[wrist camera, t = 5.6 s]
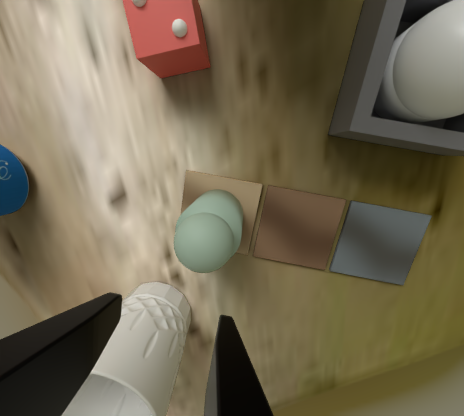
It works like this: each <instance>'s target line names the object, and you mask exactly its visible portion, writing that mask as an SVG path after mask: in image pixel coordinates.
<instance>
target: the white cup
mask: <svg viewBox="0 0 464 416" xmlns="http://www.w3.org/2000/svg"><path fill="white" fill-rule="evenodd" d="M190 322H191V308H190V305H189V303H188V302H187V300H186V298H185V296H184V295H183V294H182V293H181V292H180V291H178V290H177V289H175V288H174V287H173V286H171V285H168V284H164V283H160V282H150V283H144V284H141V285H139V286H138V287H137V288H135V289H134V290H133V291H131V292H130V293H129V294H128V295H127V296H126V297H125V298H124V300H123V301H122V310H121V318H120V321H119V323H118V325H117V327H116V329H115V330H114V332H113V334H112V336H111V338H110V339H109V341H108V343H107V345H106V347H105V348H104V350H103V352H102V354H101V356H100V357H99V359H98V361H97V363H96V364H95V366H94V368H93V370H92V371H91V373H90V374H89V376H88V377H87V379H86V380H85V382H84V383H83V385H82V386H81V388H80V389H79V391H78V392H77V394H76V395H75V397H74V398H73V399H72V401H71V402H70V404H69V405H68V407H67V408H66V410H65V411H64V413H63V414H62V416H166V415H167V411H168V407H169V404H170V400H171V396H172V393H173V389H174V385H175V382H176V378H177V375H178V371H179V367H180V363H181V358H182V355H183V351H184V347H185V342H186V336H187V332H188V329H189V326H190Z"/></svg>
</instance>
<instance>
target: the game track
mask: <svg viewBox="0 0 464 416" xmlns="http://www.w3.org/2000/svg"><path fill="white" fill-rule="evenodd" d="M214 189H220V190H225V191H228V192H230V193H232V194H233V195H234V196H235V197H236V198H237V199H238V200H239V202H240V203H241V206H242V209H243V224H242V235H241V242H240V245H239V248H238V250H237V251H236V253H239V254H245V255H248V251H249V246H250V242H251V237H252V232H253V227H254V223H255V218H256V213H257V208H258V204H259V199H260V194H261V189H262V184H259V183H254V182H248V181H243V180H237V179H232V178H227V177H221V176H216V175H210V174H205V173H200V172H194V171H189V170H186V176H185V184H184V192H183V200H182V208H181V214H182V213H183V212H184V211H185V210H186V209H187V208H188V207H189V206H190V205H191V204H192V203H193V202H194V201H195V200H196V199H198V198H199V197H200V196H201V195H202V194H203V193H205V192H207V191H210V190H214ZM345 203H346V200H345V199H340V198H335V197H329V196H324V195H318V194H313V193H308V192H302V191H297V190H291V189H286V188H281V187H275V186H270V185H268V188H267V193H266V197H265V202H264V206H263V211H262V216H261V220H260V225H259V230H258V234H257V239H256V243H255V248H254V253H253V256H255V257H260V258H265V259H270V260H276V261H281V262H286V263H291V264H296V265H301V266H306V267H312V268H317V269H322V270H325V267H326V264H327V261H328V258H329V254H330V251H331V248H332V245H333V242H334V238H335V235H336V232H337V229H338V225H339V222H340V219H341V216H342V212H343V209H344V206H345ZM431 217H432V216H430V215H426V214H421V213H416V212H410V211H405V210H399V209H394V208H389V207H383V206H378V205H372V204H367V203H362V202H356V201H350V205H349V208H348V211H347V214H346V217H345V220H344V224H343V227H342V230H341V233H340V236H339V240H338V243H337V246H336V249H335V252H334V256H333V259H332V262H331V265H330V268H329V270H330V271H332V272H337V273H343V274H348V275H353V276H358V277H363V278H368V279H374V280H379V281H384V282H389V283H394V284H399V285H404V282H405V280H406V277H407V275H408V272H409V270H410V268H411V265H412V263H413V260H414V258H415V255H416V253H417V251H418V248H419V246H420V243H421V241H422V238H423V236H424V234H425V231H426V229H427V226H428V224H429V221H430V219H431Z"/></svg>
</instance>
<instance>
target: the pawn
mask: <svg viewBox="0 0 464 416" xmlns="http://www.w3.org/2000/svg"><path fill="white" fill-rule="evenodd" d="M242 224H243V209H242V206H241V203H240V202H239V200H238V199H237V198H236V197H235V196H234V195H233V194H232V193H230V192H228V191H225V190H220V189H214V190H210V191H207V192H205V193H203V194H202V195H201V196H200V197H199V198H198V199H196V200H195V201H194V202H193V203H192V204H191V205H190V206H189V207H188V208H187V209H186V210H185V211H184V212H183V213H182V214H181V215H180V217H179V219H178V221H177V224H176V230H175V237H174V250H175V253H176V256H177V258H178V259H179V261H180V262H181V263H182V264H183V265H184V266H185V267H186V268H188V269H190V270H192V271H194V272H199V273H208V272H212V271H215V270H217V269H219V268H221V267H222V266H223V265H224V264H225V263H226V262H227V261H228V260H229V259H230V258H231V257H232V256H233V255H234V254H235V253H236V251H237V250H238V248H239V245H240V242H241V235H242Z"/></svg>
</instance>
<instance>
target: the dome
mask: <svg viewBox="0 0 464 416" xmlns="http://www.w3.org/2000/svg"><path fill="white" fill-rule="evenodd" d="M373 109H374V110H375V112H376V113H377V114H378V115H379V116H380V117H382V118H383V119H388V120H394V121H399V122H405V123H411V124H415V123H421V122H427V121H433V120H439V119H445V118H450V117H454V116H457V115H461V114H463V113H464V0H453V1H450V2H448V3H446V4H444V5H442V6H440V7H438V8H436V9H434V10H433V11H431V12H430V13H428V14H427V15H425V16H424V17H422V18H421V19H420V20H419V21H417V22H416V23H415V24H413V25H412V26H411V27H409V28H408V29H407V30H406V31H404V32H403V33H402V34H400V35H399V36H398V37H396V38H395V39H394V42H393V45H392V48H391V52H390V55H389V58H388V61H387V65H386V68H385V71H384V74H383V78H382V81H381V84H380V87H379V91H378V94H377V97H376V100H375V104H374V107H373Z"/></svg>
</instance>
